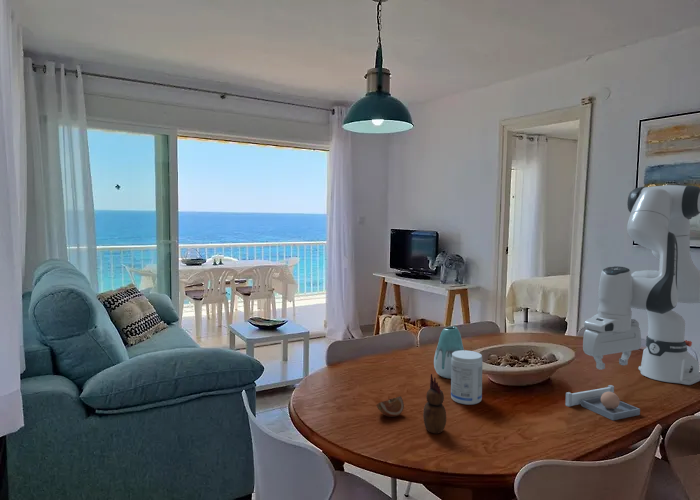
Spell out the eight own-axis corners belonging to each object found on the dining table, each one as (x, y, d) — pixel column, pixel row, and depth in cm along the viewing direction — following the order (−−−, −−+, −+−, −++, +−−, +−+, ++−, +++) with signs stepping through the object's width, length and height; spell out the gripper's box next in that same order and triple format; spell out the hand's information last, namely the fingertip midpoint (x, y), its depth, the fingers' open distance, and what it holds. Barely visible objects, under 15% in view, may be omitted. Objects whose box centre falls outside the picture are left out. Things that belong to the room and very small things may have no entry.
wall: (610, 397, 150) (610, 384, 149) (613, 398, 149) (614, 386, 148) (565, 405, 143) (565, 392, 142) (568, 406, 141) (569, 393, 141)
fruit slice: (385, 423, 129) (385, 405, 129) (371, 414, 134) (371, 397, 134) (408, 416, 134) (408, 399, 133) (393, 408, 139) (393, 392, 139)
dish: (606, 401, 146) (607, 395, 146) (639, 414, 136) (640, 408, 136) (580, 405, 142) (581, 400, 142) (612, 420, 132) (613, 414, 132)
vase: (430, 378, 165) (431, 329, 164) (437, 368, 176) (438, 322, 175) (463, 383, 161) (464, 332, 160) (468, 373, 172) (469, 325, 171)
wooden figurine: (420, 425, 128) (421, 372, 127) (441, 424, 128) (442, 371, 127) (426, 436, 121) (428, 380, 120) (448, 436, 121) (449, 380, 120)
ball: (608, 403, 142) (608, 388, 142) (623, 410, 138) (623, 393, 137) (596, 406, 140) (597, 390, 140) (611, 413, 136) (611, 396, 135)
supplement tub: (468, 392, 153) (469, 348, 152) (488, 402, 144) (489, 356, 143) (444, 396, 148) (445, 352, 147) (463, 407, 140) (465, 360, 139)
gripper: (628, 316, 144) (626, 359, 145) (579, 322, 137) (578, 367, 138) (648, 320, 138) (646, 365, 139) (598, 327, 131) (596, 374, 132)
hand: (611, 366), depth 139 cm, fingers open, 8 cm apart
